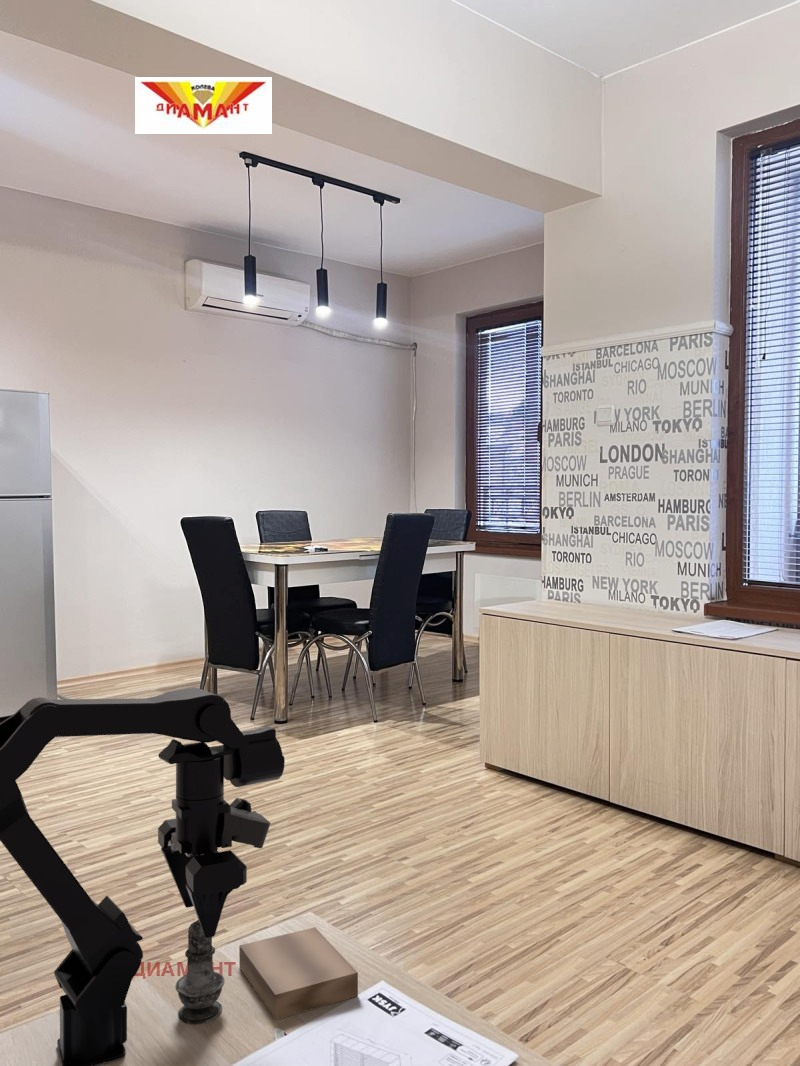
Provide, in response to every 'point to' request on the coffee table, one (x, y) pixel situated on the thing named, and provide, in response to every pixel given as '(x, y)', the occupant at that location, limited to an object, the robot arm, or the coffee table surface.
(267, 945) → the block
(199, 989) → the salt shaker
